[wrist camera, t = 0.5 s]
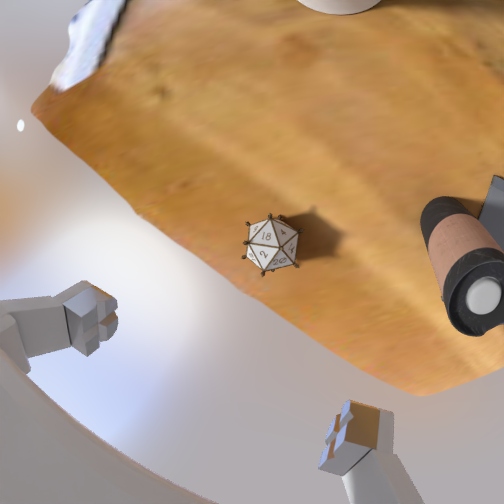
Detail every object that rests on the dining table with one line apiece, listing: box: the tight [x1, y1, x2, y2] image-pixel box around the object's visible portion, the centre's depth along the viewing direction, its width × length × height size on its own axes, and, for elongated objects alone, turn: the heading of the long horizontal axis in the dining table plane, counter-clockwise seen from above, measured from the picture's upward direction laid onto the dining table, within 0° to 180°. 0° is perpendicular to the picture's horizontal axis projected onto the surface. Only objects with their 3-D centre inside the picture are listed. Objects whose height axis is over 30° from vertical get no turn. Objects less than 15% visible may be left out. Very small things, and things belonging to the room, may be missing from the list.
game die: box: [241, 213, 305, 277], centre depth 43 cm, size 9×8×10 cm
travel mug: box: [420, 196, 504, 337], centre depth 28 cm, size 8×8×20 cm
